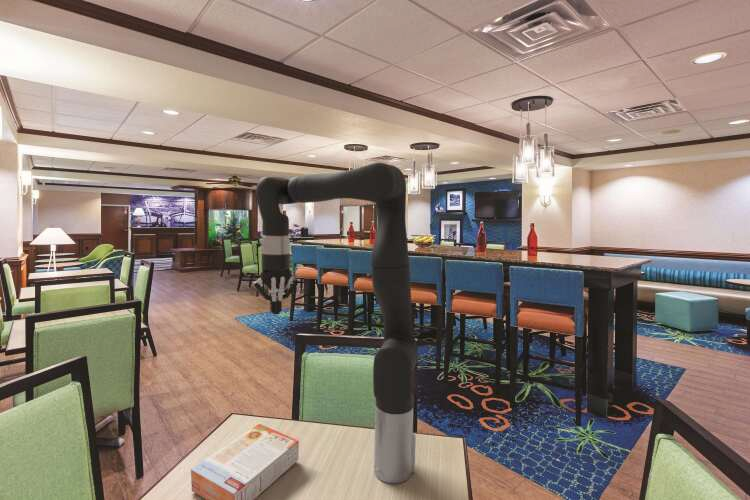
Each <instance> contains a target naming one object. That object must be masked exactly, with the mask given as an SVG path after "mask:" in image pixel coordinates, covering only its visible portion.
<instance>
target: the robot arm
mask: <svg viewBox="0 0 750 500" xmlns="http://www.w3.org/2000/svg"><path fill="white" fill-rule="evenodd" d="M255 189H256V190H255V197H256V202H257V207H258V210H259V213H260V216H261V220H262V222H261V223H262V224H261V227H262V229H261V230H262V231H261V233H262V236H261V239H262V240H261V248H260V251H261V271H260V274H259V278H258V279H256V280H254V281H252V282H251V285H252V286H253V287H254V288H255V289H256V291H257V292H258V293H259V295H261V297H262V298H263V299H265V300H266V301H269V311H270V312H271V314H272V315H275V316H276V315H280V313H281V312H282V308H283V307H282V304H283V303H282V302H283V300H284V299H288V298H289V297H290V295H291V294H292V292H293V291H294V290H295V288H296V287H297V286H298V284H299V283H300V281H299V280H298V279H297V278H294V276H292V272H291V242H290V224H289V223H290V220H289V217H288V215H287V214H285V213H283V212H281V208H280V205H290V204H291V205H292V204H296V203H297V204H298V203H300V204H302V203H320V202H327V201H332V200H333V201H334V200H338V199H339V200H340V199H348V200H349V199H350V200H351V199H352V200H360V201H365V202H366V201H367V202H371V203H375V208H376V210H375V211H376V220H377V223H376V224H377V225H376V232H375V236H374V237H375V238H374V241H373V244H372V245H373V246H372V249H371V256H370V270H371V271H370V272H371V284H372V287H373V288H372V289H373V293H374V295H375V298H376V300H377V301H376V302H377V303H378V306H379V309H380V311H381V315H382V321H383V343H382V346H381V347H379V349H378V350H377V351H376V353H375V354H374V358H373V363H372V364H373V365H372V366H373V367H372V370H373V371H372V372H373V373H372V376H373V378H372V380H373V381H372V384H373V387H372V388H373V396H374V398H375V409H374V410H375V419H374V453H373V455H374V457H373V459H374V460H373V462H374V463H373V473H374V475H375V476H376V477H377V479H378V480H380V481H381V482H383V483H386V484H387V483H388V484H401V483H403V482H406V481H407V480H408V479H409V478H410V477H411V475H412V474H413V473H414V472H416V471H415V468H416V467H415V465H416V443H417V442H416V440H417V439H416V434H415V433H414V430H413V429H414V405H415V403H414V399H415V398H414V393H412V377H413V376H412V373H413V370H414V368H415V366H416V365H417V362H418V356H419V355H418V349H417V347H418V346H417V342H416V339H415V337H416V336H415V331H414V326H413V320H412V290H411V289H412V288H411V284H412V283H411V282H412V281H411V269H410V259H409V258H410V257H409V256H410V255H409V246H408V235H407V226H406V207H407V205H406V203H407V181H406V176H405V175H404V173H403V171H402V170H401V169H400V168H399V167H397V166H396V165H392V164H388V163H384V162H374V163H370V164H366V165H364V166H360V167H355V168H353V169H348V170H344V171H339V172H330V173H314V174H313V173H312V174H303V175H302V174H300V175H296V176H294V177H291V178H282V177H274V176H273V177H272V176H265V177H262V178H261V179H260V180H258V182H257V185H256V188H255ZM264 285H265V287H266V288H267V290H268V293H267V292H266V290H264V289H263V286H264ZM286 285H287V286H286Z"/></svg>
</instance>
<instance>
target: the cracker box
mask: <svg viewBox="0 0 750 500" xmlns="http://www.w3.org/2000/svg"><path fill="white" fill-rule="evenodd" d="M299 444H300V442H299V440H298V439H296V438H294V437H291V436H289V435H287V434H284V433H282V432H280V431H277V430H274V429H272V428H270V427H268V426H265V425H263V424H261V423H257V424H256V425H255V426H254V427H252V428H250V429H249V430H246V432H245V433H243V434H241V435H239V436H238V437H236V438H235V439H234V440H232V441H231V442H230V443H228V444H226V445H224V447H222V448H221V449H218V450H217V451H216V452H214V453H213V454H211V455H210V456H208V457H207V458H205V459H204V460H203V461H201V462H199V463H198V464H196V465H195V466H193V467H192V468H191V469H190V479H191V480H190V481H191V492H193V493H194V494H195V495H198V496H199V497H201V498H203V499H204V500H255V499H256V498H257V497H259V495H261V494H262V493H263V492H264V491H265V490H266V489H268V487H270V486H271V485H273V483H274V482H276V481H277V480H278V479H279V478H280V477H281V476H282V475H283V474H285V473H286V472H287V471H288V470H289V469H291V467H292V466H294V464H296V463H297V462H298V461H299V447H300V446H299Z"/></svg>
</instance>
